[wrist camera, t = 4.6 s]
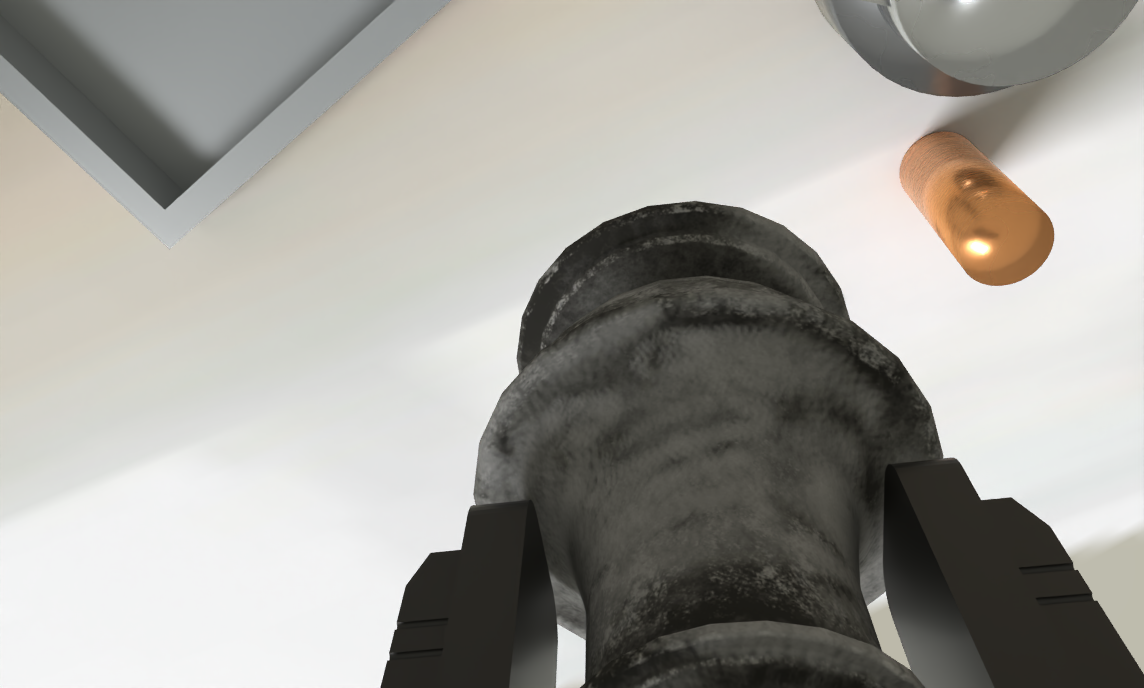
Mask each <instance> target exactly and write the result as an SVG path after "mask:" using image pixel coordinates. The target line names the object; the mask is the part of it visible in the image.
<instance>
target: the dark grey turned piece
mask: <svg viewBox="0 0 1144 688" xmlns="http://www.w3.org/2000/svg"><path fill="white" fill-rule="evenodd" d="M517 363H518V369H519V375H518V376H517V377H516V378H515V379H514V381H513V382H512V383H511V384H510V385H509V386H508V387H507V388H506V390H505V391H504V392H503V393H502V395H501V397H500V399H499V401H498V403H497V405H496V408H495V410H494V412H493V414H492V416H491V418H490V420H489V423H488V425H487V427H486V429H485V431H484V433H483V436H482V438H481V440H480V443H479V451H478V459H477V468H476V477H475V486H474V499H475V504H476V505H482V504H492V503H502V502H512V501H521V500H532V501H533V503H534V506H535V509H536V513H537V518H538V522H539V527H540V532H541V536H542V541H543V546H544V550H545V555H546V560H547V564H548V569H549V574H550V579H551V583H552V588H553V593H554V599H555V606H556V616H557V624H559V625H561V626H562V627H564V628H566V629H567V630H569V631H571V632H573V633H574V634H576V635H578V636H580V637H581V638H583V639H585V640H586V673H585V684H584V685H583V686H581V687H580V688H925V687H924V685H923V684H922V683H921V682H920V681H919V679H918V678H917V677H916V676H915V674H914V673H913V672H912V671H911V670H910V669H908V668H906V667H905V666H904V665H902V664H900V663H899V662H897V661H896V660H894V659H893V658H891V657H890V656H888V655H886V654H885V653H884V652H882V650H881V647H880V644H879V641H878V638H877V635H876V632H875V629H874V626H873V624H872V620H871V617H870V614H869V612H868V609H867V605H869V604H870V603H871V602H873V601H874V600H875V599H876V598H878V597H879V596H880V595H882V594H883V593H884V592H885V591H886V590H885V583H884V575H883V522H884V478H885V470H886V467H887V465H888V464H894V463H904V462H914V461H924V460H934V459H943V453H942V449H941V445H940V441H939V437H938V433H937V429H936V425H935V421H934V417H933V413H932V409H931V406H930V404H929V403H928V401H927V400H926V398H925V397H924V395H923V394H922V392H921V391H920V389H919V388H918V386H917V385H916V383H915V382H914V380H913V379H912V377H911V376H910V374H909V373H908V371H907V370H906V368H905V367H904V365H903V364H902V362H901V361H900V359H899V358H898V357H897V356H896V355H894V354H893V353H892V352H891V351H889V350H888V349H887V348H886V347H884V346H883V345H882V344H881V343H879V342H878V341H877V340H875V339H874V338H873V337H872V336H870V335H869V334H868V333H867V332H865V331H864V330H863V329H862V328H860V327H859V326H858V325H856V324H855V323H854V322H853V321H851V320H850V318H849V315H848V311H847V308H846V305H845V301H844V298H843V294H842V291H841V288H840V286H839V285H838V283H837V282H836V280H835V279H834V277H833V276H832V274H831V273H830V271H829V270H828V268H827V267H826V265H825V264H824V263H823V261H822V260H821V258H820V257H819V255H818V254H817V252H816V251H814V250H813V249H812V248H811V247H809V246H808V245H807V244H806V243H804V242H803V241H802V240H801V239H799V238H798V237H797V236H796V235H795V234H793V233H792V232H791V231H790V230H788V229H787V228H786V227H785V226H783V225H781V224H779V223H776V222H774V221H772V220H769V219H767V218H765V217H762V216H760V215H758V214H755V213H753V212H750V211H748V210H746V209H743V208H740V207H733V206H726V205H719V204H712V203H705V202H698V201H692V202H682V203H673V204H663V205H654V206H647V207H644V208H641V209H639V210H636V211H633V212H630V213H628V214H625V215H622V216H619V217H617V218H614V219H611V220H608V221H606V222H603V223H602V224H600V225H599V226H597V227H596V228H595V229H593V230H592V231H590V232H589V233H587V234H586V235H584V236H583V237H581V238H580V239H578V240H577V241H576V242H574V243H573V244H571V245H570V246H568V247H567V248H566V249H565V250H564V251H563V252H562V254H561V255H560V256H559V257H558V258H557V259H556V261H555V262H554V263H553V264H552V265H551V266H550V268H549V269H548V270H547V271H546V272H545V273H544V275H543V276H542V277H541V278H540V279H539V281H538V283H537V285H536V287H535V289H534V292H533V294H532V296H531V298H530V301H529V303H528V305H527V307H526V309H525V312H524V314H523V316H522V321H521V329H520V337H519V344H518V352H517Z"/></svg>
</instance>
